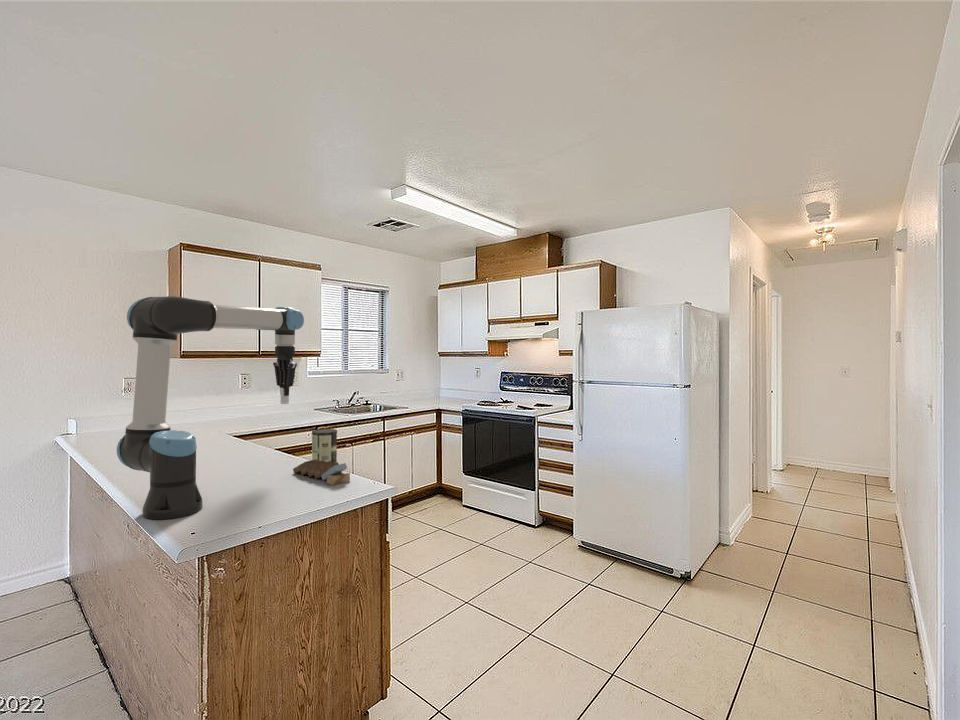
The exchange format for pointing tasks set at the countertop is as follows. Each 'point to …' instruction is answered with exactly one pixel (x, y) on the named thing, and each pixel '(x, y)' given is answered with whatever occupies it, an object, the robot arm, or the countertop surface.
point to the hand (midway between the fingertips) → (284, 403)
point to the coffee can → (324, 445)
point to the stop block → (338, 478)
